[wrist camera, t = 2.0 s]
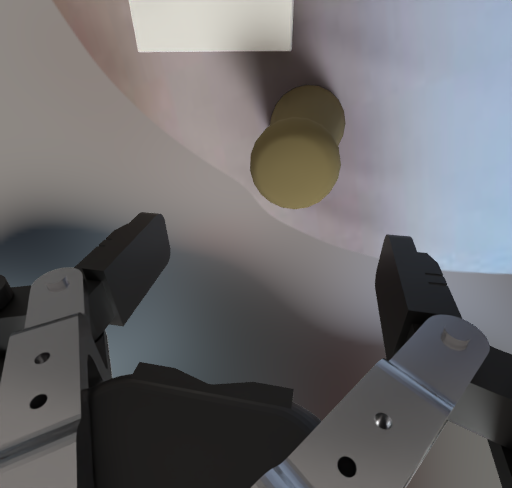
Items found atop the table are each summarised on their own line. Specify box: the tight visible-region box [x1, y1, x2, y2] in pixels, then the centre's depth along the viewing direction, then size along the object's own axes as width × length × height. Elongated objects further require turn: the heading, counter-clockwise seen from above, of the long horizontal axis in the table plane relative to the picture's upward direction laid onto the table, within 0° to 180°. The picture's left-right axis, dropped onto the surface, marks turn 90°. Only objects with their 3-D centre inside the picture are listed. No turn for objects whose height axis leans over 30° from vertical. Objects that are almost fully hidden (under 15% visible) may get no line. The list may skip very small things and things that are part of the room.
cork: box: [250, 85, 345, 209], centre depth 22 cm, size 6×6×11 cm
